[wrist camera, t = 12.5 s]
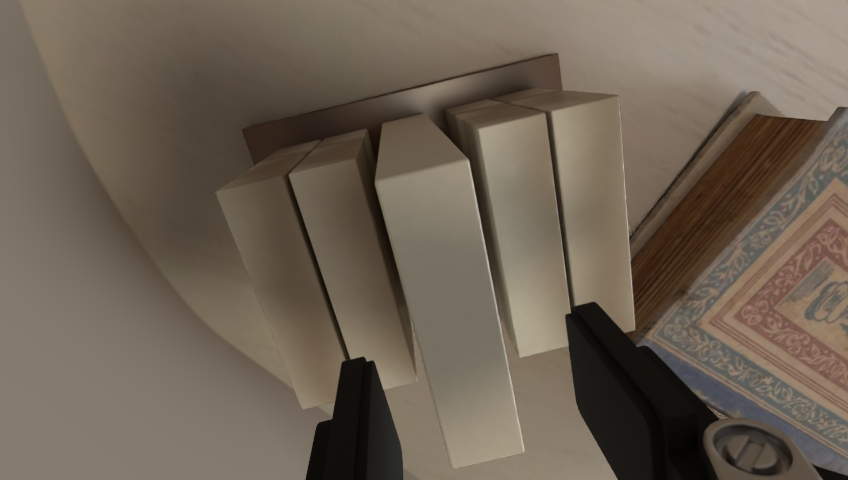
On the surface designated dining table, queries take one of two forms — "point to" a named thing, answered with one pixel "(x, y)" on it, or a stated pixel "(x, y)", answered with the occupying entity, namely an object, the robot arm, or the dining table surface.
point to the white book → (448, 288)
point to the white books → (497, 202)
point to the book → (756, 276)
